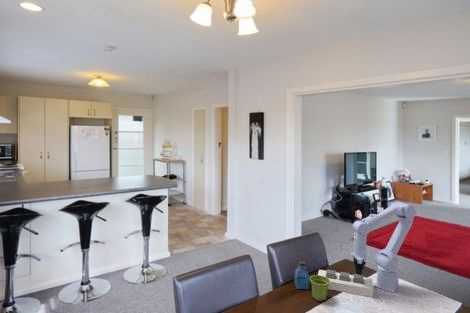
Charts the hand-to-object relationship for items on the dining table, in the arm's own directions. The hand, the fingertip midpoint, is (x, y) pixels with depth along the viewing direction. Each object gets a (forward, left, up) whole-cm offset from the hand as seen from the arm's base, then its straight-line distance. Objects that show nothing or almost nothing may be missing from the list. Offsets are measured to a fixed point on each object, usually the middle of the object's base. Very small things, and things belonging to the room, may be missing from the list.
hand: (358, 272), depth 151 cm
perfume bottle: (+22, +17, -9) cm, 29 cm away
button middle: (+6, +3, -6) cm, 9 cm away
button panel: (+6, +2, -8) cm, 11 cm away
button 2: (0, 0, -6) cm, 6 cm away
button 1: (+12, +5, -6) cm, 14 cm away
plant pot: (+10, +21, -9) cm, 25 cm away
